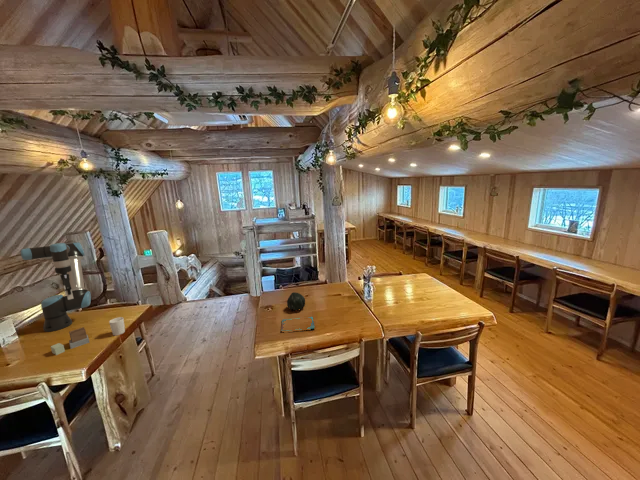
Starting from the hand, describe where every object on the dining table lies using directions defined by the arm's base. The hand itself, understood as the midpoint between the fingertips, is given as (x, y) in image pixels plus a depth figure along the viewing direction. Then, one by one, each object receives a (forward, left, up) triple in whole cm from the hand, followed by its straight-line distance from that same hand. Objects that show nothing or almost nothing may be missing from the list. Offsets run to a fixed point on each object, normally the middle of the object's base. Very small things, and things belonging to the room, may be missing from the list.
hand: (69, 296), depth 173 cm
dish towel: (+114, +103, -29) cm, 156 cm away
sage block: (+17, -11, -29) cm, 35 cm away
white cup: (+20, +19, -29) cm, 40 cm away
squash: (+94, +121, -29) cm, 156 cm away
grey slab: (+15, -1, -29) cm, 33 cm away
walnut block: (+15, -1, -26) cm, 30 cm away
